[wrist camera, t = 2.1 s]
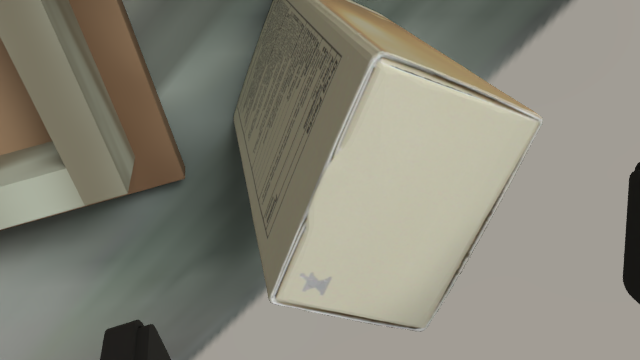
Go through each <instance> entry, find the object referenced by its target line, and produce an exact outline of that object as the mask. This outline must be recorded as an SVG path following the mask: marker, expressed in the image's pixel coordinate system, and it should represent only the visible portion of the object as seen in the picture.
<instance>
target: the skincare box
mask: <svg viewBox="0 0 640 360" xmlns="http://www.w3.org/2000/svg"><path fill="white" fill-rule="evenodd" d="M542 123H543V119H542V117H540V116H539V115H538V114H537V113H535V112H534V111H532V110H531V109H529V108H527V107H526V106H524V105H522V104H521V103H519V102H518V101H516V100H514V99H513V98H511V97H510V96H508V95H506V94H505V93H503V92H502V91H500V90H498V89H497V88H495V87H494V86H492V85H491V84H489V83H487V82H486V81H484V80H483V79H481V78H480V77H478V76H477V75H475V74H473V73H472V72H470V71H469V70H467V69H466V68H464V67H463V66H461V65H460V64H458V63H456V62H455V61H453V60H452V59H450V58H449V57H447V56H445V55H444V54H442V53H441V52H439V51H438V50H436V49H434V48H433V47H431V46H430V45H428V44H427V43H425V42H423V41H422V40H420V39H419V38H417V37H415V36H414V35H412V34H411V33H409V32H408V31H406V30H405V29H403V28H401V27H400V26H398V25H397V24H395V23H393V22H392V21H390V20H389V19H387V18H386V17H384V16H383V15H381V14H379V13H377V12H375V11H373V10H371V9H369V8H366V7H364V6H362V5H360V4H357V3H355V2H353V1H351V0H273V2H272V5H271V8H270V11H269V13H268V16H267V19H266V21H265V24H264V27H263V29H262V32H261V35H260V38H259V41H258V43H257V46H256V49H255V52H254V55H253V58H252V61H251V64H250V67H249V70H248V73H247V76H246V79H245V82H244V85H243V88H242V91H241V94H240V97H239V101H238V104H237V107H236V110H235V113H234V124H235V129H236V134H237V139H238V144H239V149H240V154H241V159H242V164H243V170H244V175H245V180H246V185H247V190H248V195H249V200H250V206H251V211H252V216H253V222H254V226H255V232H256V237H257V242H258V247H259V251H260V257H261V262H262V267H263V272H264V277H265V282H266V287H267V292H268V298H269V301H270V302H271V303H272V304H275V305H280V306H285V307H291V308H297V309H301V310H304V311H309V312H315V313H319V314H324V315H328V316H334V317H340V318H344V319H349V320H354V321H358V322H364V323H369V324H374V325H380V326H386V327H391V328H402V329H408V330H412V331H420V332H421V331H424V330H425V329H426V328H427V327H428V325H429V324H430V322H431V321H432V319H433V317H434V316H435V314H436V313H437V312H438V310H439V308H440V306H441V305H442V303H443V301H444V300H445V298H446V297H447V295H448V294H449V292H450V290H451V288H452V287H453V285H454V283H455V282H456V280H457V278H458V276H459V275H460V274H461V272H462V270H463V268H464V266H465V264H466V263H467V261H468V259H469V257H470V256H471V254H472V252H473V250H474V248H475V247H476V245H477V243H478V242H479V240H480V238H481V237H482V235H483V233H484V231H485V229H486V227H487V225H488V223H489V222H490V220H491V218H492V216H493V215H494V213H495V211H496V209H497V207H498V206H499V204H500V202H501V200H502V198H503V196H504V194H505V193H506V191H507V189H508V188H509V186H510V184H511V182H512V180H513V178H514V176H515V174H516V172H517V170H518V168H519V166H520V165H521V163H522V161H523V159H524V157H525V155H526V153H527V151H528V149H529V147H530V146H531V144H532V142H533V140H534V138H535V136H536V135H537V133H538V131H539V129H540V127H541V125H542Z"/></svg>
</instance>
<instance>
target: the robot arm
mask: <svg viewBox="0 0 640 360" xmlns="http://www.w3.org/2000/svg"><path fill="white" fill-rule="evenodd" d="M623 269H624V270H623V282H624V285H625V288H626V290H627V291H628V293H629V294H630V295H631V296H632V297H633V298H634V299H635V300H636V301H637V302H638V303H639V304H640V162H639V163H638V164H637V166H636V167H635V171H634V172H632V173H631V175H630V178H629V191H628V206H627V222H626V237H625V253H624V268H623ZM100 360H171V359H170V356H169V354H168V352H167V350H166V348H165V346H164V344H163V342H162V340H161V338H160V336H159V334H158V332H157V330H156V328H155V326H154V325H153V324H150V325H147V326H144V325H143V323H142V322H141V321H140V320H135V321H132V322H129V323H126V324H123V325H119V326H116V327H113V328H110V329H107V330H106V331H105V335H104V340H103V346H102V352H101V358H100Z"/></svg>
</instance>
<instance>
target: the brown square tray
mask: <svg viewBox="0 0 640 360" xmlns="http://www.w3.org/2000/svg"><path fill="white" fill-rule="evenodd" d="M181 179H185V166H184V163H183V160H182V158H181V155H180V152H179V150H178V147H177V144H176V142H175V139H174V137H173V134H172V131H171V129H170V126H169V123H168V121H167V118H166V116H165V113H164V110H163V108H162V105H161V102H160V100H159V97H158V94H157V92H156V89H155V87H154V84H153V81H152V79H151V76H150V73H149V71H148V68H147V66H146V63H145V60H144V58H143V55H142V52H141V50H140V47H139V44H138V42H137V39H136V37H135V34H134V31H133V29H132V26H131V23H130V21H129V18H128V15H127V13H126V10H125V8H124V5H123V2H122V0H0V231H1V230H4V229H8V228H12V227H15V226H19V225H22V224H26V223H29V222H33V221H36V220H40V219H43V218H47V217H50V216H54V215H58V214H61V213H65V212H68V211H72V210H75V209H79V208H82V207H86V206H89V205H93V204H97V203H100V202H104V201H107V200H111V199H114V198H118V197H121V196H125V195H128V194H132V193H135V192H139V191H143V190H146V189H150V188H153V187H157V186H160V185H164V184H167V183H171V182H174V181H178V180H181Z"/></svg>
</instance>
